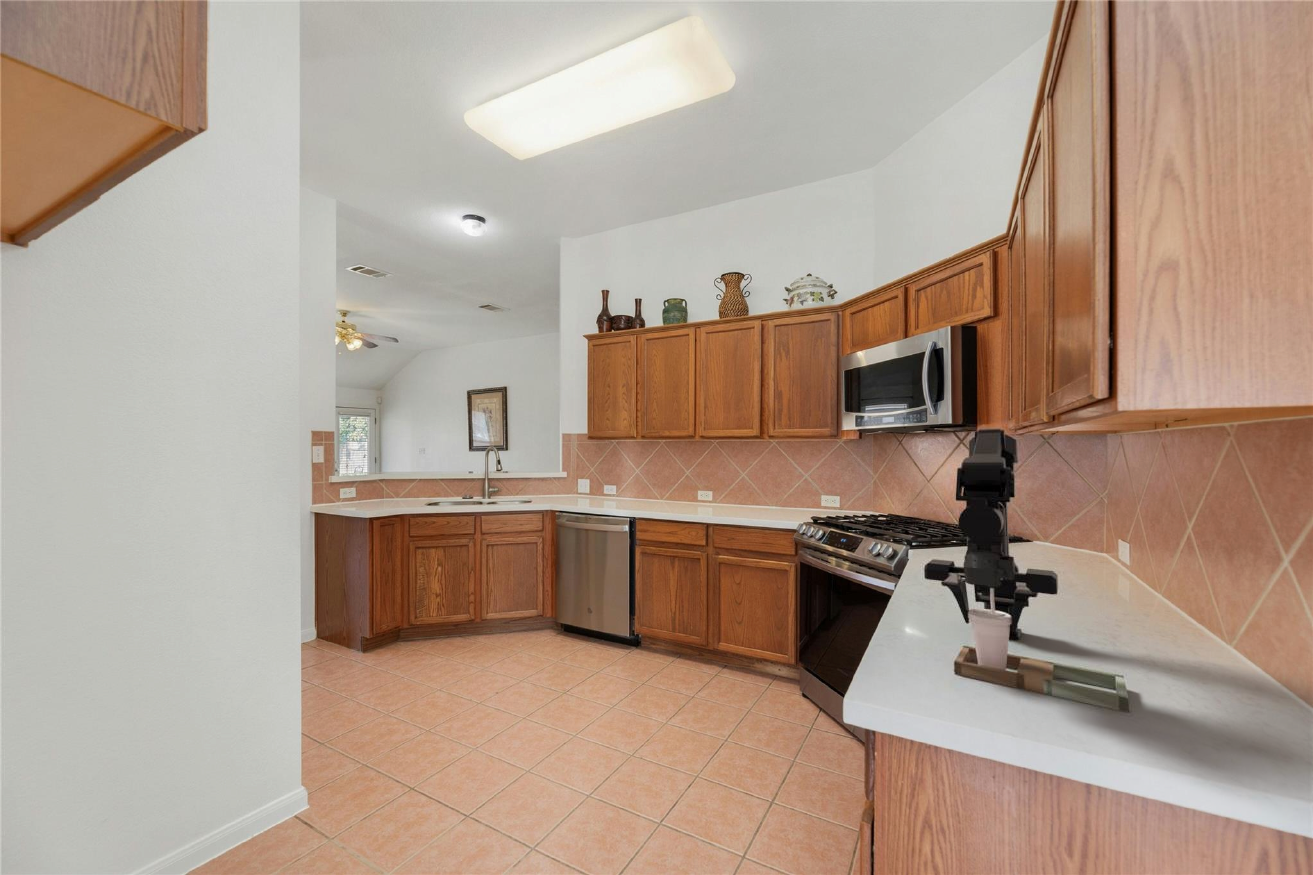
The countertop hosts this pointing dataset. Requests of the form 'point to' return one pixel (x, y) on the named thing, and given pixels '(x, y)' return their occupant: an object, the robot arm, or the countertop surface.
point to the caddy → (1048, 679)
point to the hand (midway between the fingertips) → (990, 626)
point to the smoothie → (991, 635)
